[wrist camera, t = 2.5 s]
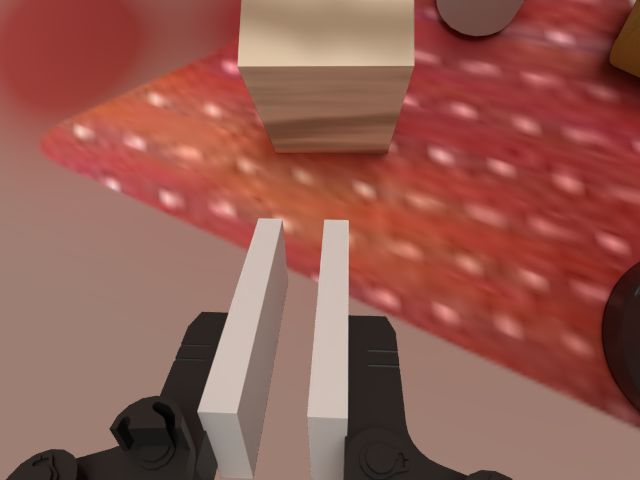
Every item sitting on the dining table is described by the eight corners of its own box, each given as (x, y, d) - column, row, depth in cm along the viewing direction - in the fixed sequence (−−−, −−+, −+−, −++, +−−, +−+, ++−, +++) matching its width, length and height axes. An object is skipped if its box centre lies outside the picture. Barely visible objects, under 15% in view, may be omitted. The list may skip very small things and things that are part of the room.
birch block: (387, 153, 37) (414, 66, 23) (276, 152, 37) (237, 66, 24) (387, 101, 38) (413, -15, 24) (278, 100, 38) (242, -13, 24)
